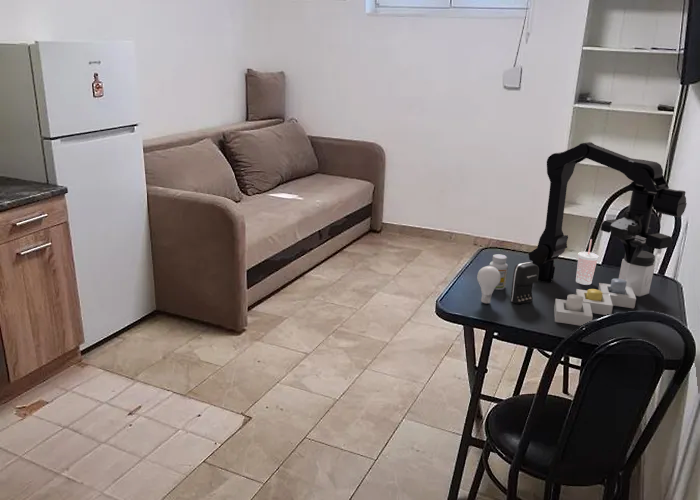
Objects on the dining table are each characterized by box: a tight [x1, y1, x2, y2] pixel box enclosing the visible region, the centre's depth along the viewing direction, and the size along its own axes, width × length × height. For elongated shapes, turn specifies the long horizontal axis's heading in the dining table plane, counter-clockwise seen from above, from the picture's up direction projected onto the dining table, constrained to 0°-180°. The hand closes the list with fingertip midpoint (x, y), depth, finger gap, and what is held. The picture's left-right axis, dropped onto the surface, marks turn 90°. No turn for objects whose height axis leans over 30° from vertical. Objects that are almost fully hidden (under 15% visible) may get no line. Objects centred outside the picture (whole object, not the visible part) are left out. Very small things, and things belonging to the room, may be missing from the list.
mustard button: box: [586, 288, 603, 301], centre depth 174 cm, size 4×4×4 cm
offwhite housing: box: [553, 298, 593, 327], centre depth 167 cm, size 9×9×3 cm
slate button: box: [609, 278, 627, 294], centre depth 179 cm, size 4×4×4 cm
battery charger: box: [509, 261, 539, 305], centre depth 174 cm, size 7×4×11 cm, turn 120°
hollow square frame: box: [574, 288, 614, 316], centre depth 174 cm, size 9×9×3 cm
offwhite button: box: [565, 293, 583, 312], centre depth 166 cm, size 4×4×4 cm
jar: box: [618, 249, 656, 297], centre depth 186 cm, size 9×8×12 cm
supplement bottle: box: [488, 253, 509, 291], centre depth 184 cm, size 5×5×10 cm
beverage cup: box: [575, 238, 600, 286], centre depth 191 cm, size 6×6×14 cm
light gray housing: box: [597, 282, 637, 309], centre depth 180 cm, size 9×9×3 cm
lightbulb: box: [476, 265, 501, 305], centre depth 172 cm, size 6×6×11 cm
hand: (629, 263), depth 172 cm, fingers closed
